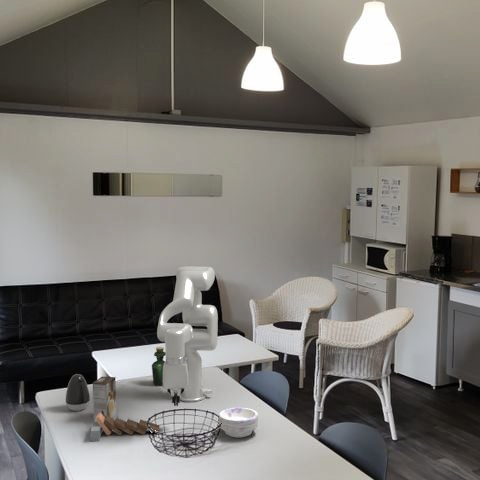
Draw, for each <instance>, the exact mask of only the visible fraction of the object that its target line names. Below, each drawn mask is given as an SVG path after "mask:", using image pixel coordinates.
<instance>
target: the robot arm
mask: <svg viewBox="0 0 480 480" xmlns="http://www.w3.org/2000/svg"><path fill="white" fill-rule="evenodd" d="M175 274H176V275H175V276H176V282H175V286H174V287H175V288H174V294H173V300H172V302H170V303H169V304H167V306H165V308H163V310H162V311H161V313H160V316H159V319H158V325H157V330H156V331H157V332H156V334H157V335H156V336H157V339H158V340H159V341H160V342H162V343H163V342H164V345H165V346H164V348H165V349H164V350H165V351H164V352H165V353H166V355H165V363H164V365H163V386H161V387H162V389H161V390H162V392H167V393H168V394H169V395H171V403H172V404H173V406H174V407H178V406H179V404H180V402H181V401H182V402H186V403H187V402H189V403H191V402H192V403H193V402H199V401H202V400H204V399H205V398H206V394H207V395H211V394H213V390H212V388H211V389H210V388H204V387H203V383H202V382H203V381H202V380H203V377H202V376H203V374H202V373H203V364H202V363H203V362H202V361H203V360H202V357H201V355H200V353H199V352H198V351H206V352H207V351H215V350H216V349H217V345H218V332H219V331H218V330H219V329H218V322H219V321H218V320H219V317H218V310H217V308H216V306H215V305H212V304H202V301H203V300H202V299H203V298H202V291H204V292H205V291H209V290H210V289H211V287H212V286H213V284H214V281H215V278H216V274H215V270H214V268H213V267H211V266H196V265H195V266H194V265H193V266H191V265H189V266H188V265H187V266H186V265H185V266H180V267H178V268H177V269H176V272H175ZM180 313H182V321H183V322H182V323H177V322H172V323H171V322H168V321H169V320H170V319H171V318H172V317H174V316H176V315H178V314H180ZM193 326H194V327H206V328H193ZM175 390H177V392H175Z"/></svg>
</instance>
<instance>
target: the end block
mask: <svg viewBox="0 0 480 480" xmlns="http://www.w3.org/2000/svg"><path fill="white" fill-rule="evenodd" d="M93 421H94V420H93ZM103 431H104V430H103V429H102V427H101V426H100V425H99V423H98V422H97V421H96V420H95V421H94V422H93V424H92V426H91V430H90V442H99V441H100V439H101V436H102V434H103Z"/></svg>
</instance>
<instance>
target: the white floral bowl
mask: <svg viewBox="0 0 480 480" xmlns="http://www.w3.org/2000/svg"><path fill="white" fill-rule="evenodd" d="M220 423H222V424H221V427H219V428H220V429H221V430H223V431H224V433H225V434H226V435H227V436H229V437H231V438H236V439H238V438H245V437H248V436H251V434H252V433H253V431H255V430H257V428H258V426H259V414H258V411H256V410H255V409H252V408H249V407H248V408H247V407H230V408H225V409H223V410H221V411H220V412H219V414H218V425H219V424H220Z"/></svg>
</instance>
